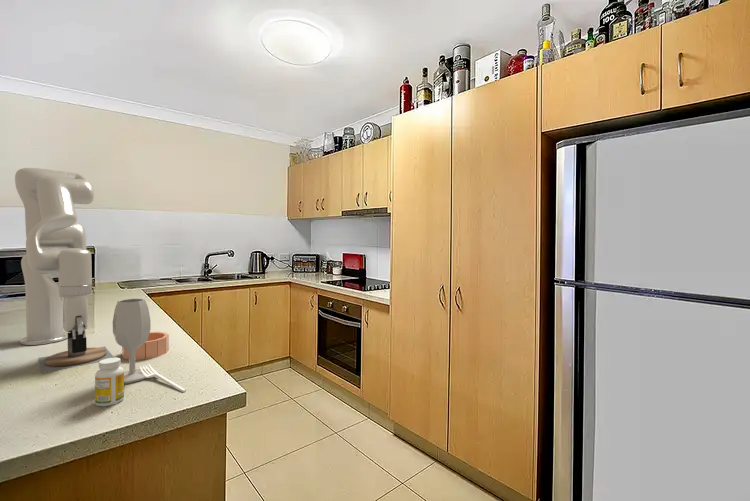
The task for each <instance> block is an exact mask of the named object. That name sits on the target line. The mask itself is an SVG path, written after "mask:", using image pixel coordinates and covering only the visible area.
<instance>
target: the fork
mask: <svg viewBox="0 0 750 501" xmlns="http://www.w3.org/2000/svg"><path fill="white" fill-rule="evenodd" d="M139 369H140V370H141V372H142V374H143V375H144V376H145V379H149V378H153V377H154V378H156V379H158V380H159V381H161V382H163V383H165V384H167V385H169V386H171V387H172V388H174V389H176V390H177V391H180V392H181V393H185V392H187V391H186V388H184V387H182V386H181V385H180V384H177V383H176V382H174V381H172V380H170V379H168V378H166V377H165V376H164V375H161V374H160V372H157V371H156V370H155V369H154V368H153V367H152V366H151V364H150V363H147V365H146V364H144V365H142V367H141V365H139ZM143 369H144V371H145V372H146V373H147V374H148V375H147V374H146V373H145V372H144V371H143ZM146 369H147V370H148V371H147V370H146ZM150 373H151V374H150Z"/></svg>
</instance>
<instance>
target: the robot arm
mask: <svg viewBox="0 0 750 501" xmlns="http://www.w3.org/2000/svg"><path fill="white" fill-rule="evenodd" d="M14 184H15V188H16V191H17V194H18V196H19V198H20V199H21V201H22V204H23V207H24V216H25V217H24V218H25V219H24V221H25V222H24V223H25V237H26V238H25V250H26V253H25V254H24V255H23V256H22V258H21V261H20V265H21V270H22V274H23V280H24V287H25V317H26V318H25V319H26V320H25V324H26V325H25V327H26V330H25V331H26V336H25V337H23V338H21V339H20V344H21V345H25V346H35V345H36V346H37V345H39V346H40V345H45V344H46V345H47V344H53V343H57V342H61V341H64V340H66V339H67V340H68V339H70V338H73V339H72V353H78V352H84V351H86V350H87V348H88V347H87V336H86V330H87V329H88V327H89V326H88V325H89V324H88V323H89V316H88V315H89V313H88V312H89V305H88V303H89V302H88V297H90V296H92V295H93V276H92V274H93V273H92V272H93V271H92V270H93V269H92V264H93V263H92V253H91V251H90V250H88V249H87V235H86V231H85V227H84V225H82V224H81V223H80V222H77V220H78V215H77V214H76V207H75V205H90V204H92V202H93V201H94V198H95V193H94V192H95V191H94V188H93V185H92V183H91V182H90V181H89V180H88V179H87V178H86V177H84V175H81V174H80V173H77V172H70V171H63V170H62V171H61V170H56V169H54V170H53V169H47V168H46V169H45V168H38V167H23V168H19V169H18V170H16V171H15V175H14ZM54 278H56V279H57V278H58V282H55V281H54V280H53V279H54Z"/></svg>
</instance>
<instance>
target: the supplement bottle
mask: <svg viewBox="0 0 750 501" xmlns="http://www.w3.org/2000/svg"><path fill="white" fill-rule="evenodd" d="M121 364H122V360H121V358H120V357H114V358H107V359H104V360H101V361H100V362H98V369H99V370H97V371H96V373H95V375H94V396H95V397H94V398H95V399H94V404H95V405H96V406H97V407H109V406H113V405H114V406H115V405H116V404H118V403H120V402H122V401H123V400H124V398H125V384H124V372H125V369H124V368H123V367H122V366H121Z"/></svg>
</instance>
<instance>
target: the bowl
mask: <svg viewBox="0 0 750 501" xmlns="http://www.w3.org/2000/svg"><path fill="white" fill-rule="evenodd" d="M169 335H170V334H168V333H167V332H166V331H165V332H161V331H150V333H149V336H148V340H147V341H146V342H144V343H143V344H142V345H141V346H140V347H139V348H137V349H136V350H135V361H136V360H138V361H140V360H147V359H152V358H157V357H161V356H163V355H165V354H167V353H168V352H169V350H170V336H169ZM121 348H122V349H121V356H122V357H123V359H124V360H129V351H128V350H127V349H125V348H123V347H122V346H121Z"/></svg>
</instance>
